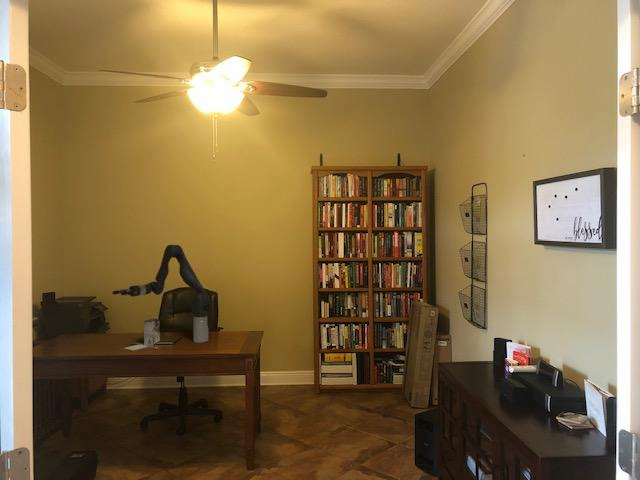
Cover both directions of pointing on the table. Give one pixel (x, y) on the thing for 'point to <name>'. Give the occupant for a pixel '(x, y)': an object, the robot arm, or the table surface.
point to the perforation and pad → (136, 347)
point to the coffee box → (151, 331)
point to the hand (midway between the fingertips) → (117, 293)
